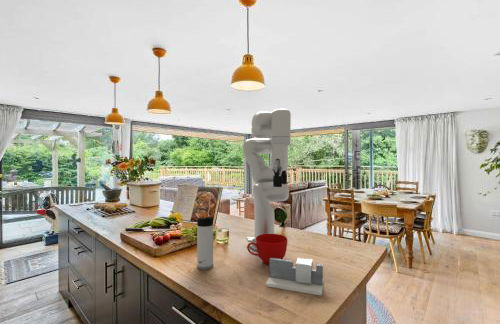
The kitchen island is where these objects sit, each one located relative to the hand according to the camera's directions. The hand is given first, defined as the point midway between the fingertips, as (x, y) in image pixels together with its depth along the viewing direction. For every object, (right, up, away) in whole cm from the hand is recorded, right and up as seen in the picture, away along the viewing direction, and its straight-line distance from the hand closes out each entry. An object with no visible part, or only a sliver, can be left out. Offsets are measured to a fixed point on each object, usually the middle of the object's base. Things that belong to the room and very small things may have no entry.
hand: (280, 185), depth 99 cm
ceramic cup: (-5, -33, +5) cm, 33 cm away
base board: (+4, -33, -13) cm, 35 cm away
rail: (+4, -33, -13) cm, 35 cm away
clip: (+7, -31, -13) cm, 34 cm away
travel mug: (-30, -33, +1) cm, 44 cm away
